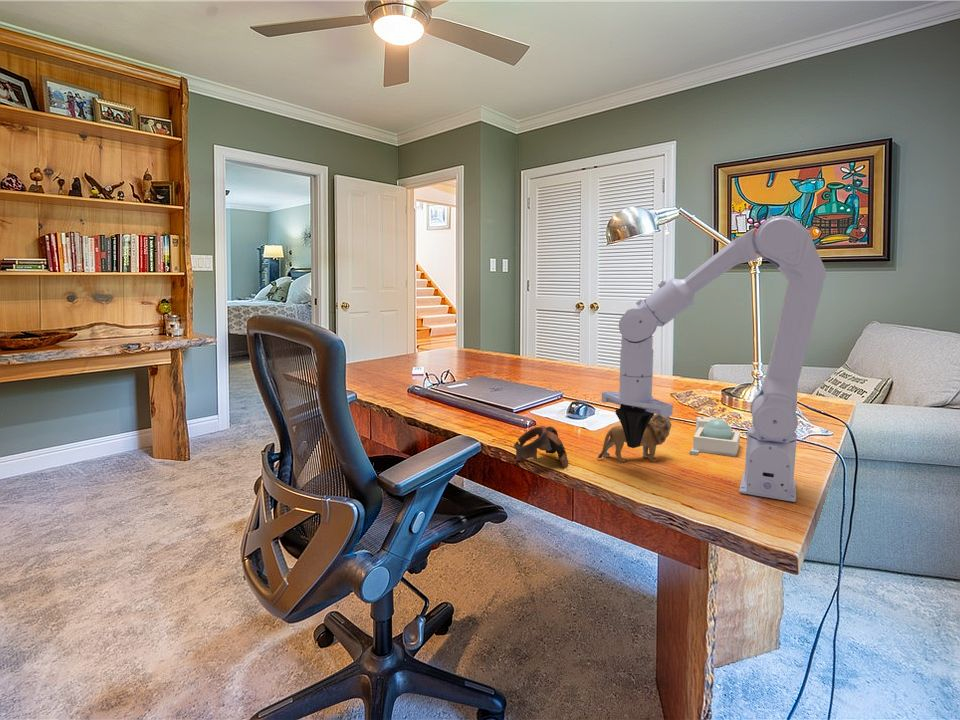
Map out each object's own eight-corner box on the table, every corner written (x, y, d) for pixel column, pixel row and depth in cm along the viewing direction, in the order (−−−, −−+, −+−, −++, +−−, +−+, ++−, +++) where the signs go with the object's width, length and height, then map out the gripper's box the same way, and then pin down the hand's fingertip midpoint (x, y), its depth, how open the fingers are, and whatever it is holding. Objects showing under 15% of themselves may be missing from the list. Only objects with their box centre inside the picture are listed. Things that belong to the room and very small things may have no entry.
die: (717, 439, 114) (718, 421, 113) (697, 438, 115) (698, 420, 114) (714, 434, 118) (715, 416, 117) (695, 433, 119) (696, 415, 118)
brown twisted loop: (567, 477, 95) (545, 441, 94) (524, 491, 100) (502, 456, 98) (578, 442, 105) (558, 409, 104) (539, 456, 110) (519, 424, 108)
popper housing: (736, 456, 103) (736, 442, 102) (692, 450, 107) (693, 436, 106) (739, 445, 109) (740, 431, 109) (698, 440, 114) (699, 426, 113)
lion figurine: (663, 452, 106) (664, 409, 105) (675, 461, 101) (677, 416, 100) (593, 456, 105) (593, 412, 103) (602, 465, 99) (603, 419, 98)
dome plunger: (729, 448, 104) (730, 423, 104) (701, 444, 107) (702, 420, 106) (731, 441, 109) (733, 417, 108) (705, 437, 111) (706, 414, 111)
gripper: (684, 377, 91) (681, 452, 93) (619, 367, 103) (617, 433, 105) (659, 382, 87) (656, 460, 89) (594, 370, 99) (593, 439, 101)
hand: (633, 446), depth 97 cm, fingers closed
